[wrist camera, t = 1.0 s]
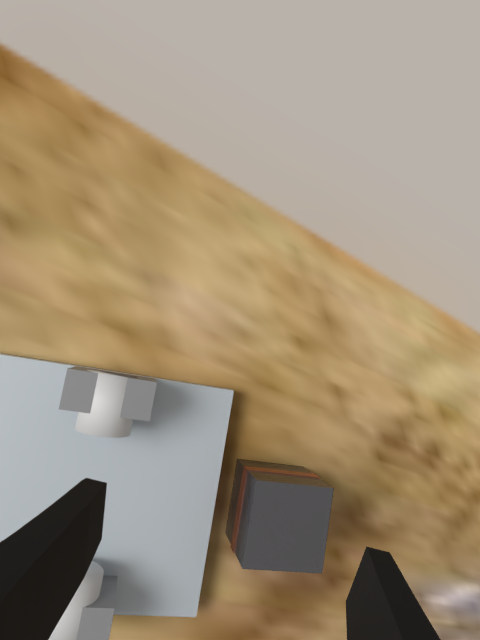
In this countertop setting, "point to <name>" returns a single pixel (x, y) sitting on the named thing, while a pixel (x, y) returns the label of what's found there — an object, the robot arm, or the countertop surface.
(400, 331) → the countertop surface
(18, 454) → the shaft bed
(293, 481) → the block
